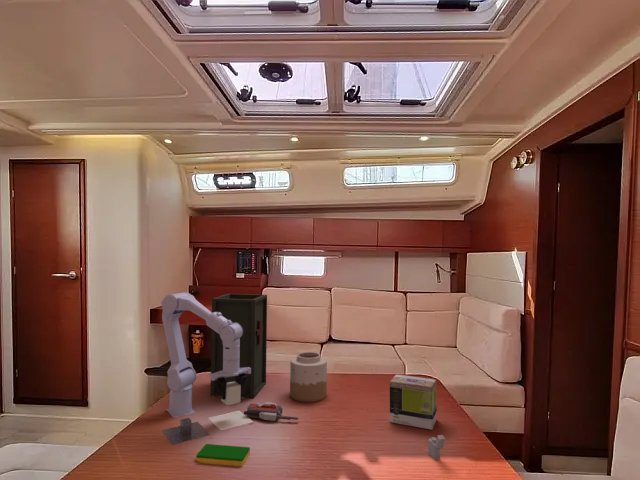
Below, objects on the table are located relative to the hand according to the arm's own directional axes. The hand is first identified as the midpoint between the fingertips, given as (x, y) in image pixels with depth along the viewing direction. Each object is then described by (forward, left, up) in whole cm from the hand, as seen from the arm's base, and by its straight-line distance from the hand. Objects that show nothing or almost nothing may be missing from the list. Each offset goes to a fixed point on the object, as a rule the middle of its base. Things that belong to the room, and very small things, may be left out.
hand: (230, 397), depth 144 cm
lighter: (+58, +40, -9) cm, 71 cm away
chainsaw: (+5, +14, -8) cm, 17 cm away
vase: (-6, +37, -9) cm, 39 cm away
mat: (0, 0, -8) cm, 8 cm away
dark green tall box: (-28, +16, -9) cm, 33 cm away
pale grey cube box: (0, 0, -2) cm, 2 cm away
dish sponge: (+22, -12, -9) cm, 27 cm away
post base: (+1, -16, -8) cm, 18 cm away
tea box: (+36, +54, -9) cm, 65 cm away
